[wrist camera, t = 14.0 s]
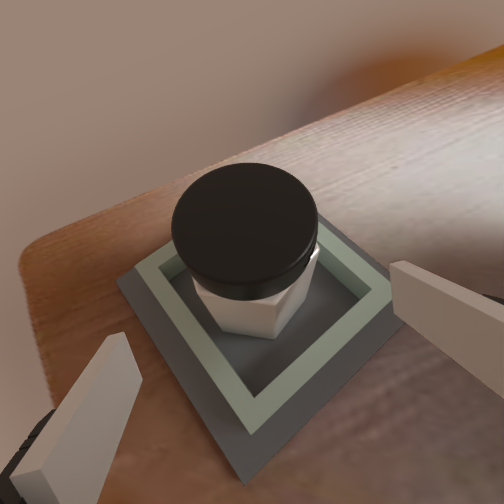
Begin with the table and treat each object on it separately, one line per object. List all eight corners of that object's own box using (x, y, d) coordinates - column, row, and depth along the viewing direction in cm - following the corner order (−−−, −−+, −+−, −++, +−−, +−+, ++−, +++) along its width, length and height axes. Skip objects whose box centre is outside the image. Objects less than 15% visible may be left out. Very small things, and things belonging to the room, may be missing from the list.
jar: (319, 322, 25) (353, 257, 14) (228, 358, 24) (193, 317, 13) (278, 238, 29) (281, 141, 18) (199, 266, 28) (155, 180, 17)
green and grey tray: (271, 180, 34) (271, 153, 30) (420, 305, 26) (443, 289, 22) (119, 284, 29) (98, 267, 25) (245, 482, 21) (239, 497, 17)
